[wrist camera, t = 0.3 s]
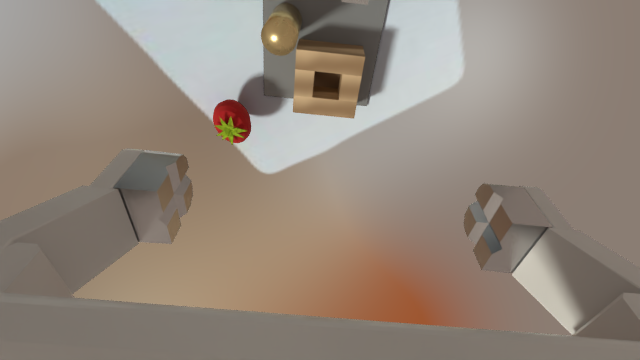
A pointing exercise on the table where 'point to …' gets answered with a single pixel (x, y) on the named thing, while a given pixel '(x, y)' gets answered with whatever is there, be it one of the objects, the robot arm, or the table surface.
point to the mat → (327, 39)
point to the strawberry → (232, 121)
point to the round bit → (282, 29)
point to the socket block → (327, 78)
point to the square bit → (356, 1)
